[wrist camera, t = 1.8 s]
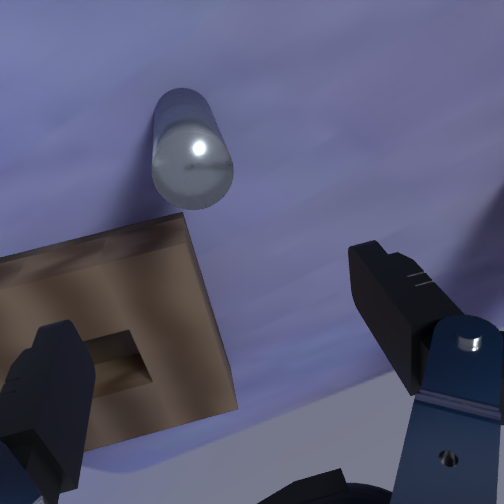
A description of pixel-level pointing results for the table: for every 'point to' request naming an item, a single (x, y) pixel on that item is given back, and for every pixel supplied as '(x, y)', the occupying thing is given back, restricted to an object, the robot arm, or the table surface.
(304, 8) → the table surface
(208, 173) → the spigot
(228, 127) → the table surface
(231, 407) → the socket block
